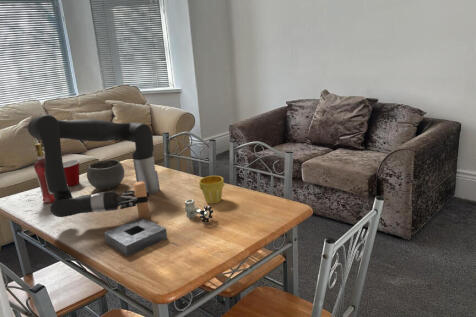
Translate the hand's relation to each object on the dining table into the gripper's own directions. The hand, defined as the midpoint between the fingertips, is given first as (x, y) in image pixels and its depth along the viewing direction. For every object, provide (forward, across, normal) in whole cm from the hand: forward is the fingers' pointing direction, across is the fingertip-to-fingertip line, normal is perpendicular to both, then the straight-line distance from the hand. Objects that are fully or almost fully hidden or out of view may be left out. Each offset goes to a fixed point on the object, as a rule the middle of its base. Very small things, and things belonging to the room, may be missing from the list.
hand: (148, 196), depth 166 cm
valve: (+19, -6, +10) cm, 22 cm away
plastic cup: (-46, +56, +10) cm, 73 cm away
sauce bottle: (-51, +34, +10) cm, 62 cm away
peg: (-3, 0, +9) cm, 9 cm away
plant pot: (+26, +11, +10) cm, 29 cm away
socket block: (-4, -18, +9) cm, 21 cm away
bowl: (-26, +44, +10) cm, 52 cm away
